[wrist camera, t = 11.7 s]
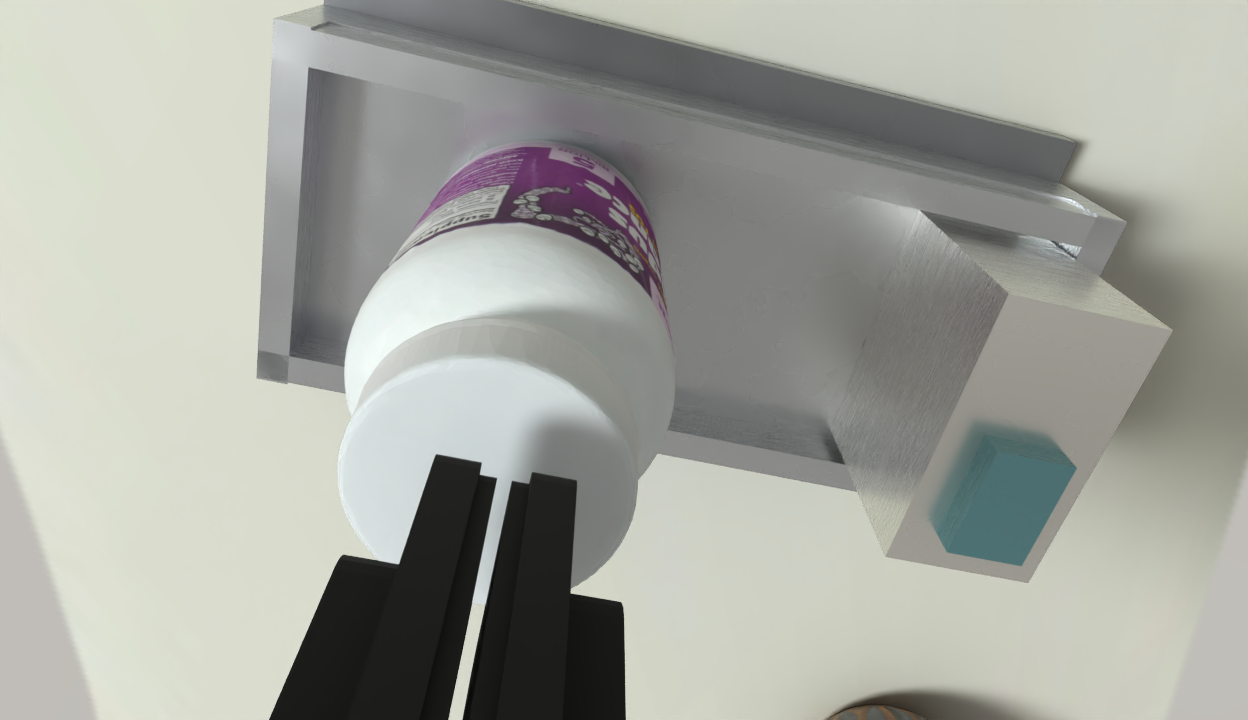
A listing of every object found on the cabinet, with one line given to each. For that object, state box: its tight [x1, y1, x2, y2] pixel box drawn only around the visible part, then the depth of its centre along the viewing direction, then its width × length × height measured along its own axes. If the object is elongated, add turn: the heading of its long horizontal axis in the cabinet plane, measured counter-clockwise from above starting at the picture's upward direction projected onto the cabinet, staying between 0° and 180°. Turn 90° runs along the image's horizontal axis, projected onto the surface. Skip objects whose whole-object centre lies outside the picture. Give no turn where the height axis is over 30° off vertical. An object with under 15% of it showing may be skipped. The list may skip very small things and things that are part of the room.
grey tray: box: [257, 0, 1173, 583], centre depth 19 cm, size 10×18×8 cm, turn 77°
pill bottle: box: [337, 140, 675, 605], centre depth 16 cm, size 5×5×10 cm
